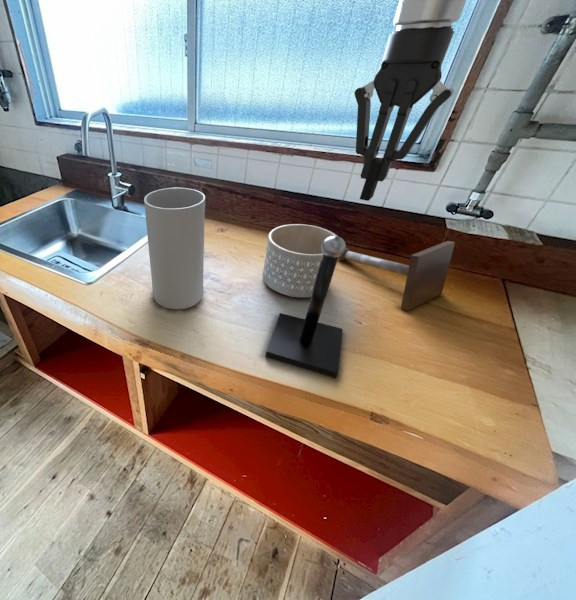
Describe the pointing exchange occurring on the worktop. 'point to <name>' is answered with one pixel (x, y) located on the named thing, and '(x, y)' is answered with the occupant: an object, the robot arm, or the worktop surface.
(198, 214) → the cylinder vase
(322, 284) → the black holder
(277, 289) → the planter
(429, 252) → the paper towel stand
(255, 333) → the worktop surface
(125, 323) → the worktop surface
